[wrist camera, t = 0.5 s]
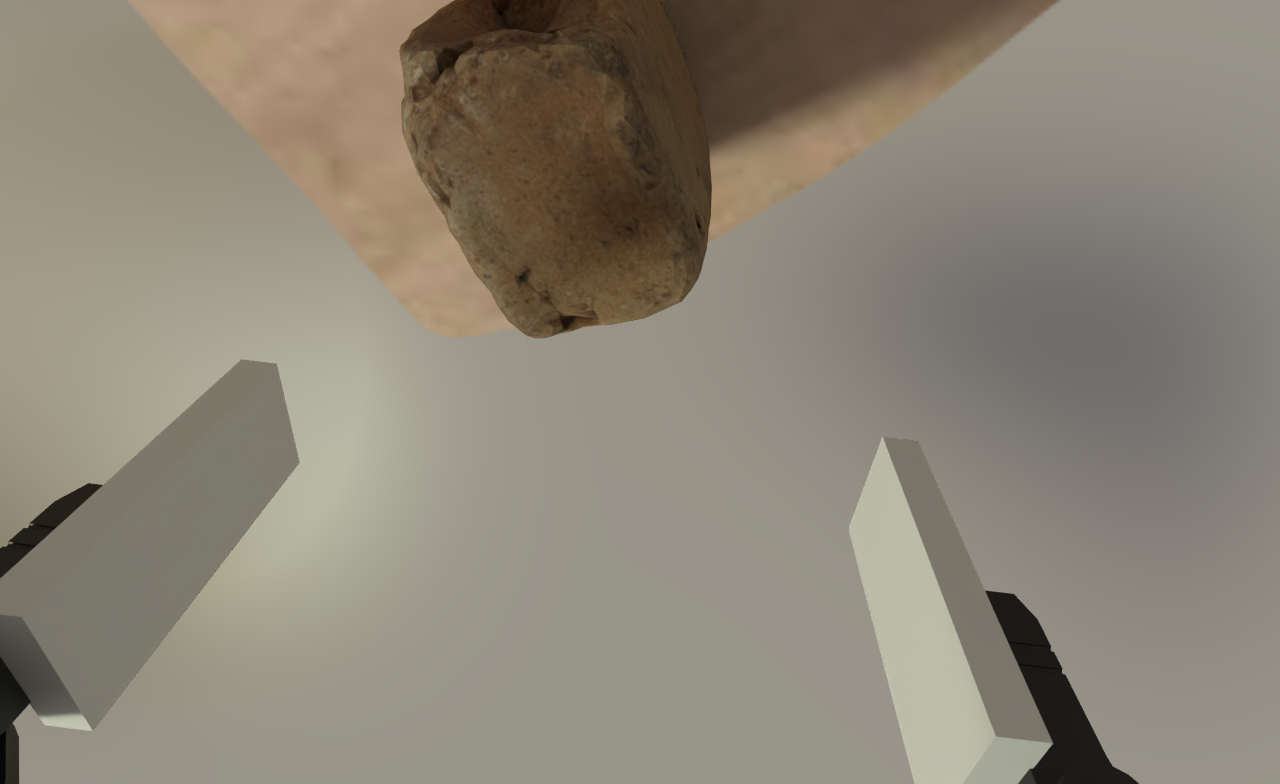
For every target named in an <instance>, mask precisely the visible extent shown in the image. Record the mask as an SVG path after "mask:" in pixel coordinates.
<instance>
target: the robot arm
mask: <svg viewBox="0 0 1280 784" xmlns="http://www.w3.org/2000/svg"><path fill="white" fill-rule="evenodd" d="M298 463H300V462H299V458H298V454H297V449H296V445H295V441H294V437H293V432H292V428H291V424H290V419H289V415H288V411H287V406H286V403H285V398H284V393H283V389H282V385H281V380H280V376H279V372H278V367H277V364H274V363H265V362H258V361H249V360H240V361H239V362H238V363H237V364H236V365H235V366H234V367H233V368H232V369H231V370H230V371H228V372H227V373H226V374H225V375H224V376H223V377H222V378H221V379H220V380H218V381H217V382H216V383H215V384H214V385H213V386H212V387H211V388H210V389H209V390H207V391H206V392H205V393H204V394H203V395H202V396H201V397H200V398H199V399H198V400H196V401H195V402H194V403H193V404H192V405H191V406H190V407H189V408H188V409H187V410H185V412H183V413H182V414H181V415H180V416H179V417H178V418H177V419H176V420H174V421H173V422H172V423H171V424H170V425H169V426H168V427H167V428H166V429H165V430H163V431H162V432H161V433H160V434H159V435H158V436H157V437H156V438H155V439H153V440H152V441H151V442H150V443H149V444H148V445H147V446H146V447H145V448H144V449H143V450H141V451H140V452H139V453H138V454H137V455H136V456H135V457H134V458H133V459H131V460H130V461H129V462H128V463H127V464H126V465H125V466H124V467H123V468H122V469H120V470H119V472H117V473H116V474H115V475H114V476H113V477H112V478H111V479H109V480H108V481H107V482H106V483H105V484H104V485H98V484H90V483H89V484H86V485H85V486H83V487H81V488H79V489H77V490H75V491H73V492H71V493H70V494H68V495H66V496H64V497H62V498H60V499H58V500H57V501H55V502H54V503H52V504H51V505H50V506H49V507H48V508H47V509H45V510H44V511H43V512H42V513H41V514H40V515H39V516H37V517H36V518H35V519H34V520H33V521H32V522H30V523H29V527H28V528H24V529H22V530H21V531H20V532H19V533H18V534H17V535H15V536H14V537H13V538H12V539H11V540H10V541H8V546H7V547H2V548H0V784H19V736H18V734H17V731H16V729H15V726H14V725H13V721H14V720H15V719H16V718H17V717H18V716H19V715H20V713H21V712H22V711H23V710H24V709H25V708H26V707H27V706H28V704H29V703H30V705H31V706H32V708H33V709H34V710H35V712H36V713H37V715H38V716H39V718H40V719H41V721H42V722H43V724H44V725H48V726H56V727H65V728H72V729H80V730H88V731H93V730H94V729H95V728H96V726H97V725H98V724H99V722H100V721H101V720H102V719H103V717H104V716H105V715H106V713H107V712H108V711H109V709H110V708H111V707H112V706H113V704H114V703H115V702H116V700H117V699H118V698H119V697H120V695H121V694H122V692H123V691H124V690H125V688H126V687H127V686H128V685H129V684H130V682H131V681H132V680H133V678H134V677H135V676H136V674H137V673H138V672H139V671H140V669H141V668H142V667H143V665H144V664H145V663H146V661H147V660H148V659H149V658H150V656H151V655H152V654H153V652H154V651H155V650H156V648H157V647H158V646H159V644H160V643H161V642H162V640H163V639H164V638H165V637H166V635H167V634H168V633H169V631H170V630H171V629H172V628H173V626H174V625H175V624H176V622H177V621H178V620H179V619H180V617H181V616H182V614H183V613H184V612H185V611H186V609H187V608H188V607H189V606H190V604H191V603H192V602H193V600H194V599H195V598H196V596H197V595H198V594H199V593H200V591H201V590H202V589H203V587H204V586H205V585H206V583H207V582H208V581H209V580H210V578H211V577H212V576H213V574H214V573H215V572H216V570H217V569H218V568H219V567H220V565H221V564H222V563H223V561H224V560H225V559H226V557H227V556H228V555H229V553H230V552H231V551H232V550H233V548H234V547H235V546H236V544H237V543H238V542H239V540H240V539H241V538H242V537H243V535H244V534H245V533H246V531H247V530H248V529H249V528H250V526H251V525H252V524H253V522H254V521H255V520H256V518H257V517H258V516H259V514H260V513H261V512H262V511H263V509H264V508H265V507H266V505H267V504H268V503H269V502H270V500H271V499H272V498H273V496H274V495H275V494H276V492H277V491H278V490H279V488H280V487H281V486H282V485H283V483H284V482H285V481H286V480H287V478H288V477H289V476H290V474H291V473H292V472H293V470H294V469H295V468H296V467H297V465H298ZM849 533H850V537H851V540H852V544H853V548H854V552H855V556H856V560H857V563H858V568H859V571H860V575H861V579H862V582H863V587H864V590H865V594H866V598H867V602H868V606H869V610H870V614H871V618H872V622H873V625H874V629H875V633H876V637H877V641H878V645H879V648H880V652H881V656H882V660H883V664H884V668H885V672H886V676H887V679H888V683H889V687H890V691H891V695H892V699H893V702H894V706H895V710H896V714H897V718H898V722H899V726H900V730H901V733H902V737H903V741H904V745H905V749H906V753H907V756H908V760H909V764H910V768H911V771H912V776H913V780H914V783H915V784H1139V783H1138V782H1136V781H1135V780H1134V779H1133V778H1132V777H1130V776H1129V775H1128V774H1126V773H1124V772H1122V771H1120V770H1118V769H1116V768H1114V767H1113V766H1112V764H1111V763H1110V761H1109V759H1108V758H1107V756H1106V754H1105V752H1104V750H1103V748H1102V746H1101V744H1100V742H1099V740H1098V738H1097V736H1096V734H1095V732H1094V730H1093V728H1092V726H1091V725H1090V722H1089V721H1088V719H1087V717H1086V715H1085V713H1084V711H1083V709H1082V707H1081V705H1080V703H1079V701H1078V699H1077V697H1076V695H1075V693H1074V691H1073V689H1072V687H1071V685H1070V683H1069V681H1068V679H1067V677H1066V675H1064V674H1062V667H1061V665H1060V663H1059V661H1058V659H1057V657H1056V655H1055V653H1054V652H1051V645H1050V643H1049V641H1048V640H1047V637H1046V635H1045V633H1044V631H1043V629H1042V627H1041V625H1040V623H1039V622H1038V620H1037V619H1036V617H1035V616H1034V615H1033V614H1032V613H1031V612H1030V611H1029V610H1028V609H1027V608H1026V607H1025V605H1024V604H1023V603H1022V602H1021V601H1020V600H1019V599H1018V598H1017V597H1016V596H1015V595H1014V594H1009V593H1001V592H992V591H985V590H984V588H983V586H982V583H981V581H980V579H979V576H978V575H977V572H976V570H975V567H974V565H973V563H972V561H971V558H970V556H969V554H968V552H967V549H966V547H965V545H964V543H963V540H962V538H961V536H960V534H959V531H958V529H957V527H956V525H955V522H954V520H953V518H952V516H951V514H950V511H949V509H948V507H947V505H946V502H945V500H944V498H943V496H942V493H941V491H940V489H939V487H938V484H937V482H936V480H935V478H934V475H933V473H932V471H931V469H930V466H929V465H928V462H927V460H926V457H925V455H924V453H923V451H922V448H921V446H920V444H919V442H918V441H914V440H906V439H897V438H888V437H882V440H881V442H880V445H879V448H878V451H877V454H876V456H875V459H874V461H873V464H872V467H871V470H870V472H869V475H868V478H867V481H866V483H865V486H864V489H863V491H862V494H861V497H860V500H859V502H858V505H857V508H856V510H855V513H854V516H853V518H852V521H851V524H850V526H849Z"/></svg>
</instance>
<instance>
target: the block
mask: <svg viewBox="0 0 1280 784" xmlns="http://www.w3.org/2000/svg"><path fill="white" fill-rule="evenodd" d="M400 59H401V64H402V70H403V76H404V93H405V97H404V99H403V101H402V130H403V135H404V138H405V141H406V144H407V146H408V149H409V152H410V154H411V157H412V159H413V162H414V164H415V167H416V170H417V172H418V174H419V176H420V177H421V179H422V181H423V183H424V184H425V186H426V188H427V189H428V191H429V193H430V194H431V196H432V198H433V200H434V201H435V203H436V205H437V206H438V207H439V209H440V210H441V212H442V213H443V215H444V216H445V218H446V221H447V224H448V228H449V231H450V232H451V233H452V235H453V236H454V237H455V239H456V240H457V241H458V243H459V245H460V247H461V249H462V251H463V253H464V255H465V257H466V259H467V261H468V263H469V264H470V266H471V267H472V269H473V271H474V272H475V274H476V275H477V277H478V278H479V279H480V280H481V281H482V282H483V284H484V285H485V286H486V287H487V288H488V289H489V291H490V292H491V293H492V295H493V297H494V299H495V301H496V303H497V305H498V307H499V308H500V310H501V311H502V312H503V314H504V315H505V317H506V318H507V320H508V321H509V322H510V323H511V324H513V325H514V326H515V327H516V328H518V329H519V330H520V331H521V332H523V333H524V334H525V335H527V336H529V337H533V338H547V337H550V336H553V335H556V334H559V333H565V332H570V331H574V330H576V329H579V328H582V327H586V326H596V325H612V324H617V323H622V322H627V321H633V320H638V319H643V318H646V317H648V316H650V315H653V314H655V313H657V312H659V311H661V310H664V309H666V308H668V307H670V306H672V305H674V304H677V303H679V302H681V301H682V300H683V299H684V298H685V297H686V295H687V294H688V293H689V292H690V291H691V289H692V288H693V286H694V284H695V283H696V281H697V280H698V278H699V274H700V272H701V269H702V264H703V261H704V256H705V253H706V249H707V242H708V230H709V224H710V217H711V192H712V184H711V171H710V159H709V146H708V139H707V135H706V131H705V126H704V122H703V117H702V112H701V109H700V105H699V101H698V97H697V94H696V91H695V88H694V85H693V82H692V79H691V76H690V73H689V70H688V68H687V65H686V63H685V60H684V57H683V54H682V51H681V48H680V45H679V43H678V40H677V38H676V35H675V32H674V30H673V27H672V25H671V23H670V21H669V19H668V17H667V15H666V13H665V11H664V9H663V6H662V4H661V2H660V0H455V1H453V2H451V3H450V4H448V5H446V6H445V7H443V8H441V9H439V10H438V11H437V12H436V13H435V14H434V15H433V16H432V17H430V18H429V19H428V20H427V21H425V22H424V23H422V24H421V25H419V26H418V27H416V28H415V29H413V30H412V32H411V34H410V36H409V38H408V40H407V41H406V42H404V43H403V44H402V45H401V47H400Z"/></svg>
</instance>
